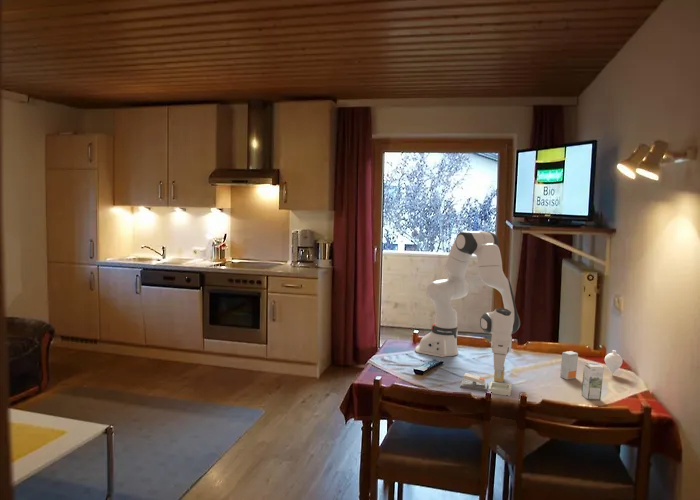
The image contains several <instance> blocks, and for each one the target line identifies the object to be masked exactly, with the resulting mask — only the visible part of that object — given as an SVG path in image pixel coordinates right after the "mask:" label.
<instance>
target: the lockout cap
mask: <svg viewBox="0 0 700 500" xmlns="http://www.w3.org/2000/svg"><path fill="white" fill-rule="evenodd" d="M504 379H505V367H504V368H503V371H501V378H497V372H496V371H495V370H494V375H493V382H498V383H504Z"/></svg>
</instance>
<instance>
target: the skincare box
mask: <svg viewBox="0 0 700 500" xmlns="http://www.w3.org/2000/svg"><path fill="white" fill-rule="evenodd" d="M578 359H579V353H578V352H576V351H575V352H574V351H573V350H569V351H568V350H567V351H563V352H562V353H561V361H560V362H561V363H560V376H559V377H560V378H562V379H565V380H572V379H576V378H577V371H578V370H577V369H578Z"/></svg>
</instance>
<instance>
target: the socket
mask: <svg viewBox="0 0 700 500" xmlns="http://www.w3.org/2000/svg"><path fill="white" fill-rule="evenodd" d="M512 386H513V385H512V383H511V384H510V383H504V382H499V381H490V382H489V384H488V388H487V390H488V391H492V393H491V394H494V395H502V396H506V395H508V396H507V397H511V395H512V389H513V387H512Z"/></svg>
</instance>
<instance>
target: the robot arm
mask: <svg viewBox="0 0 700 500" xmlns="http://www.w3.org/2000/svg"><path fill="white" fill-rule="evenodd" d="M499 242H500V241H499V238H498V235H496V233H494V232H492V231H484V230H470V231H469V230H463V231H461V232H459V233H458V234H457V236H456V238H455V240H454V242H453V244H452V246H451V248H450V249H449V253H448V256H447V259H446V261H445V264H444V268H445V270H446V272H447V273H448V276H447V278H446V279H445V278H444V279H437V280H433V281H431V282H429V283H428V284H427V286H426V288H425V289H426V290H425V291H426V295H427V297H428V299H429V300H431V301H432V304H433V306H434V308H435V309H434V310H435V322H434V323H433V324H432V325H431V328H430V329H431V331H430V332H429V333H427V334H425V335H424V336H422V338H421V339H420V341H419V344H418V345H416V347H415V349H414V351H415V353H418V354H423V355H429V356H434V357H438V358H439V357H440V358H446V357H452V356H453V357H454V356H457V355H459V350H458V344H457V343H458V342H457V338H458V311H457V310H456V309H455V308H453V306H452V301H453V300H458V299H459V300H460V299H462V298H465V297H467V295H468V294H469V291H470V285H469V283H468V282H467V281H468V280H467V279H466V276H467V271H468V268H469V266H470V265H469V264H470V262H471V259H472V256H473V255H475V256H476V257H477V272H478V278H479V280H480V281H481V282H482V283H483V284H484V285H486V286H488V287H489V288H493V289H495V290H497V291H498V292H499V293H500V294H501V297H502V303H503V307H499V308H494V311H490V312H484V313H483V314H482V315H481V317H480V320H479V325H480V326H479V327H480V328H481V330H482V331H483V332H484V333H488V334H491V344H490V348H491V352H492V353H493V370H494V372H495V371H496V372H497V378H501V371H503V368H504V369H505V362H506V359H507V358H506V357H507V355H508V354H509V352H510V351H512V344H513V343H512V342H513V338H512V334H515V333H517V331H518V330H519V328H520V326H521V319H520V316H519V314H518V311H517V307H516V302H515V297H514V293H513V288H512V284H511V281H510V279H509V278H508V277H506V274H505V273H504V271H503V261H502V255H501V254H502V253H501V251H500V247H499V245H500V243H499Z"/></svg>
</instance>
